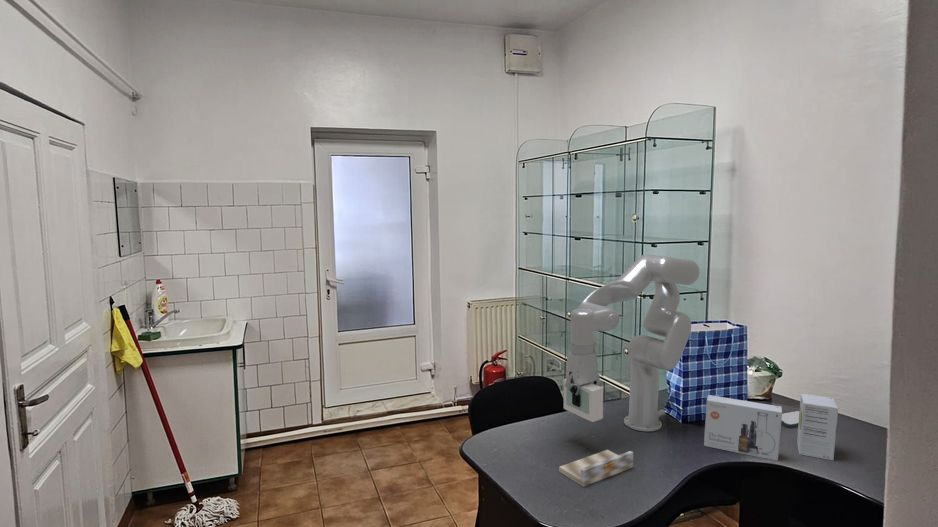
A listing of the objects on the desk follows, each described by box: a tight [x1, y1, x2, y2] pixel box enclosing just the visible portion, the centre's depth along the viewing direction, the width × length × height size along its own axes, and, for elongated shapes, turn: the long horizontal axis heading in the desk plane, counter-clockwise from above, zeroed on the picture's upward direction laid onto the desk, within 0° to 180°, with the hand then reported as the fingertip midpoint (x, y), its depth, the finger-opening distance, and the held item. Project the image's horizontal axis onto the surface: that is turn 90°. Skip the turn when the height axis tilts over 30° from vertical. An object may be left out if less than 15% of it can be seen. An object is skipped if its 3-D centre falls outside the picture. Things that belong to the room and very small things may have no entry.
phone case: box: [781, 410, 800, 429], centre depth 198 cm, size 9×2×16 cm
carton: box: [563, 378, 604, 423], centre depth 177 cm, size 5×13×10 cm, turn 33°
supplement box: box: [796, 393, 839, 461], centre depth 173 cm, size 10×9×17 cm
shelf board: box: [558, 449, 634, 487], centre depth 163 cm, size 20×10×5 cm, turn 123°
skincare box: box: [703, 394, 783, 462], centre depth 174 cm, size 21×5×16 cm, turn 62°
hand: (582, 403), depth 177 cm, fingers closed on carton, 4 cm apart
